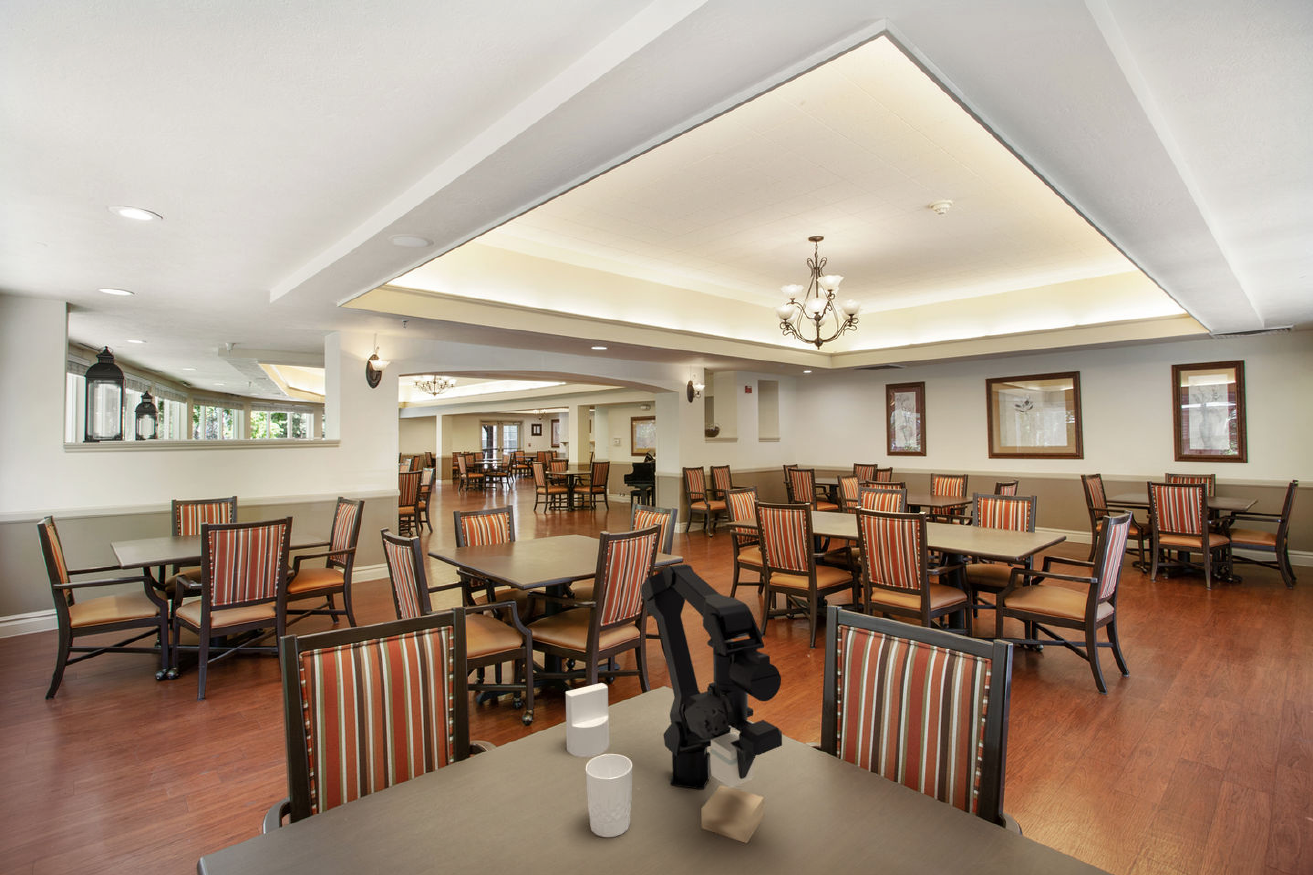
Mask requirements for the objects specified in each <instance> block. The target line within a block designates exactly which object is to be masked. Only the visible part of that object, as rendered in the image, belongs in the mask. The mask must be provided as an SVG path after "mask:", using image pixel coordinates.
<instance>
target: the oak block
mask: <svg viewBox="0 0 1313 875" xmlns="http://www.w3.org/2000/svg"><path fill="white" fill-rule="evenodd" d="M700 811H701V812H700V813H701V829H703V830H707V831H710V832H713V833H716V834H719V835H722V836H725V837H728V838H729V839H730V838H731V839H734V840H735V841H738V842H739V841H740V842H743V843H745V844H747V843H748V842H749V840H750V839H751V837H752V836H753V834H754V832H756V830H757V828H758V827H759V825H760V824H761V822H762V820H763V819H764V817H765V797H764V796H760V795H757V794H754V793H750V792H748V791H743V790H741V789H737V788H734V787H733V788H729V787H728V786H726V785H724V784H723V785H722V784H721V785H719V787H718V788H717V789H716V791H715V792H714V793H713V794H712V795H711V797H710V798H708V800H707V801H706V802H705V804H704V805H703V806H702V807H701V810H700Z"/></svg>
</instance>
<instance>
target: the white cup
mask: <svg viewBox="0 0 1313 875" xmlns="http://www.w3.org/2000/svg"><path fill="white" fill-rule="evenodd" d="M585 778H586V780H585V781H586V796H587V807H588V808H587V809H588V815H589V826H590V830H591V831H592V832H593V833H594V834H595V835H596V836H599V837H602V838H615V837H618V836H621V835H623V834H624V833H625V832H627V831H628V830H629V828H630V824H631V808H632V793H633V791H632V789H633V762H632V761H631V759H630V758H628V757H627V756H625V755H622V754H618V753H605V754H601V755H600V754H599V755H596V756H594V757H593V758H591V759H590V760H588V762H587V763H586V765H585Z"/></svg>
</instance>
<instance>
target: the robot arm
mask: <svg viewBox="0 0 1313 875" xmlns="http://www.w3.org/2000/svg"><path fill="white" fill-rule="evenodd" d="M640 594H641V597H642V600H643V602H644V604H645V608H646V611H647V613H649V614H650V615H651V616H652V618H653V619H654V620H655V621H656V622H657V625H658V629H659V634H660V638H661V639H660V640H661V643H662V646H663V653H664V656H665V661H666V665H667V669H668V675H669V678H670V683H671V688H672V691H673V701H672V705H671V709H670V712H669V719H670V725H668V727H667V729H666V730H665V731H664V733H663V740H664V741H663V742H664V746H665V747H666V749H668V750H669V751H670V752H671V755H672V759H671V760H672V764H671V766H672V776H671V778H670V781H669V783H670V785H672V786H678V787H685V788H692V789H699V790H704V789H705V787H706V783H707V782H708V781H709V779H710V776H711V775H712V774H711V752H709V751H708V748H709V747H711V740H712V739H714V738H717V737H720V736H722V735H725V734H728V733H730V732H731V730H735V731H736V730H737V731H738V732H739V734H738V735H739V740H736V741H733V742H731V744H732V745H733V746H734V747H735V748H736V749H737V758H738V771H739V777H740V778H741V779H743V778H745V777H746V776H747V774H748V771H749V769H750V767H751V765H752V763H753V764H754V761H755V758H756V757H757V756H760V755H763V754H765V753H768V752H769V751H772V750H775V749H777V748H779V747H782V746H783V731H782V730H781V729H780V728H779V727H777V726H775V725H774V724H771V723H770V722H768V721H766V720H764V719H761V720H758V721H756V722H754V723H752V722H750V721H749V720H748V718H750V717H753V716H754V708H752V707H750V706H749V695H750V696H751V697H752V698H754V699H756V700H757V701H760V702H768V701H770V700H772V699H774V698H775V696H776V695H777V694H778V692H779V690H780V687H781V684H782V675H781V674H780V671H779V668H777V666H775V664H772V663H771V656H770V655H769V654H766V653H765V652H760V651H758V650H759V649H761V650H762V649H765V643H764V641H763V637H764V636H763V635H762V633H761V631H760V628H759V627H758V625H757V622H756V620H755V617H754V615H753V612H752V611H751V608H750V607H749V606H748V605H747V604H746V603H745V602H743V601H741V600H739V599H737V598H735V597H731V596H726V595H722V594H721V593H720V592H718V591H717V590H716V589H715V588H713V587H712V586H711V585H710V584H709V583H707V582H706V581H705V579H703V578H702V577H701V576H699V575H698V574H697V573H696V572H695V571H694V569H693V567H692V566H691V565H689V564H686V563H683V564H676V565H669V566H667V567H665V568H664V569H663V570H662V571H660V572H658V573H656V574H654V575H652V576H649V577H646V578H645V580H644V582H643V583H642V585H641V586H640ZM686 602H687V603H688V604H690V606H691V607H693V608H694V609H695V611H697V613H699V614H700V616H701V618H702V627H703V629H704V630H705V631H706V632H707V634H708V636H709V637H710V639H709V640H708V641H707V646H709V647H710V648H712V652H713V653H712V662H713V666H712V667H713V668H712V669H713V682H710V683H708V686H707V691H704V692H701V691H700V689H699V686H698V682H697V677H696V674H695V669H694V666H693V660H692V658H691V652H690V648H689V645H688V640H687V637H686V632H685V628H684V623H683V619H682V612H683V609H684V606H685V603H686ZM745 637H749V638H745ZM740 638H745V639H740ZM735 639H739V640H735Z"/></svg>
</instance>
